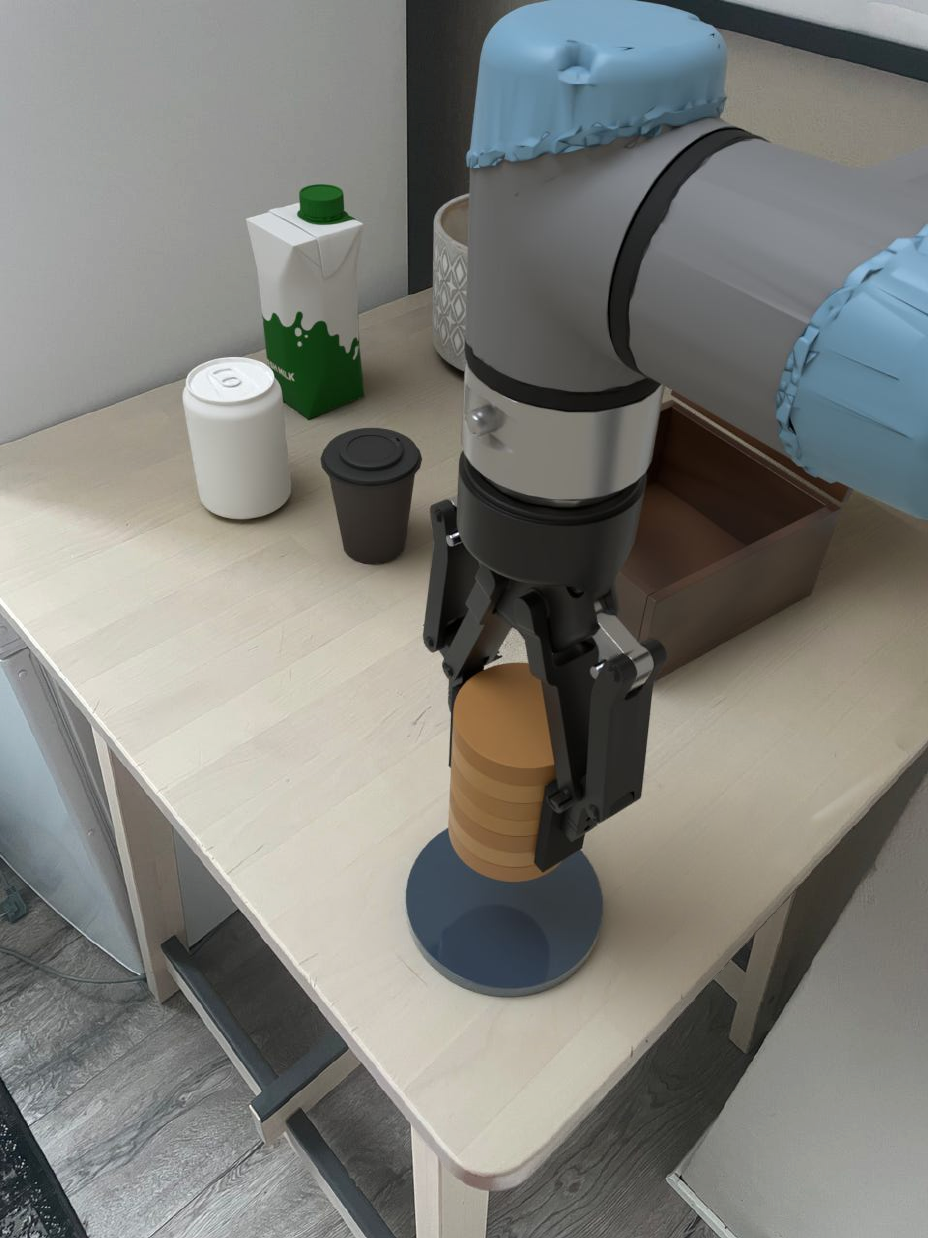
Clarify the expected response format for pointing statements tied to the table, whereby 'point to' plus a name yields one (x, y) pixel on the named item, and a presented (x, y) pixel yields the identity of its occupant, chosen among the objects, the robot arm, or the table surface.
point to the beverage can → (237, 437)
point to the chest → (717, 540)
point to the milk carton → (310, 298)
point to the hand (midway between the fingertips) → (513, 805)
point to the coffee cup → (372, 490)
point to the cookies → (499, 772)
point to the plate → (502, 921)
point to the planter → (450, 280)
